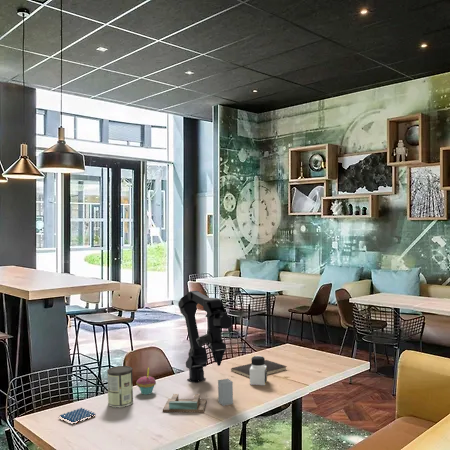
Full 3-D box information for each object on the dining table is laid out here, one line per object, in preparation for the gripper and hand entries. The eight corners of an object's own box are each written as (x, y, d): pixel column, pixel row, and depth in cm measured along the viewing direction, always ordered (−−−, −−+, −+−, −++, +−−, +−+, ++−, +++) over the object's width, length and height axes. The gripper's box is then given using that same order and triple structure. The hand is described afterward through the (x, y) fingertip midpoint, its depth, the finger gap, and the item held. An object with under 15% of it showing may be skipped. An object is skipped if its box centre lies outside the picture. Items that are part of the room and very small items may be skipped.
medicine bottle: (265, 385, 219) (264, 359, 219) (249, 384, 220) (249, 358, 220) (267, 380, 226) (266, 355, 226) (251, 380, 227) (251, 354, 227)
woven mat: (57, 420, 184) (57, 415, 184) (81, 411, 192) (81, 406, 192) (72, 427, 177) (72, 421, 177) (96, 418, 186) (96, 412, 186)
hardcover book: (286, 370, 242) (286, 366, 242) (251, 379, 229) (251, 375, 229) (265, 363, 255) (265, 359, 255) (231, 372, 242) (231, 367, 242)
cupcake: (160, 392, 212) (159, 365, 212) (144, 397, 206) (144, 369, 206) (148, 388, 218) (147, 361, 218) (132, 393, 212) (132, 365, 212)
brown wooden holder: (168, 401, 201) (168, 392, 201) (206, 401, 200) (206, 392, 200) (162, 412, 189) (162, 403, 189) (203, 412, 188) (203, 403, 188)
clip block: (218, 402, 199) (218, 380, 199) (228, 400, 201) (228, 378, 201) (222, 405, 195) (222, 383, 195) (232, 403, 197) (232, 381, 197)
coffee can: (116, 397, 206) (115, 364, 206) (137, 400, 203) (137, 366, 203) (102, 406, 197) (102, 371, 197) (124, 409, 193) (124, 373, 193)
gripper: (194, 327, 221) (196, 362, 219) (198, 331, 202) (201, 369, 201) (218, 325, 223) (220, 359, 221) (225, 329, 204) (227, 366, 203)
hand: (217, 363), depth 211 cm, fingers open, 9 cm apart
